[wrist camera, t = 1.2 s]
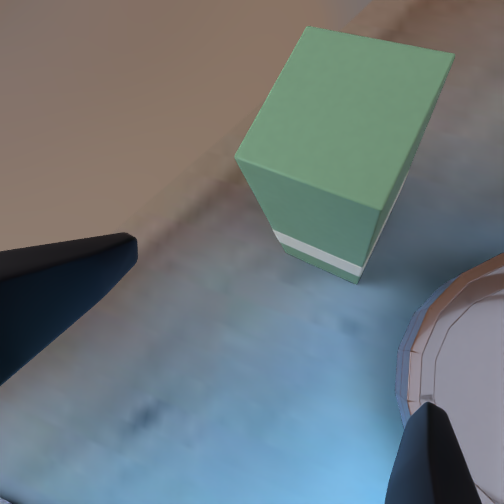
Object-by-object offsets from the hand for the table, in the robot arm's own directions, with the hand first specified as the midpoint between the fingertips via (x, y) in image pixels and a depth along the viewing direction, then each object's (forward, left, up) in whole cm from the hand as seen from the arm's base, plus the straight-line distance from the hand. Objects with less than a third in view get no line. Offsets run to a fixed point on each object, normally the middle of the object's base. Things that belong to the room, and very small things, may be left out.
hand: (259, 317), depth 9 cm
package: (+8, +1, -14) cm, 16 cm away
